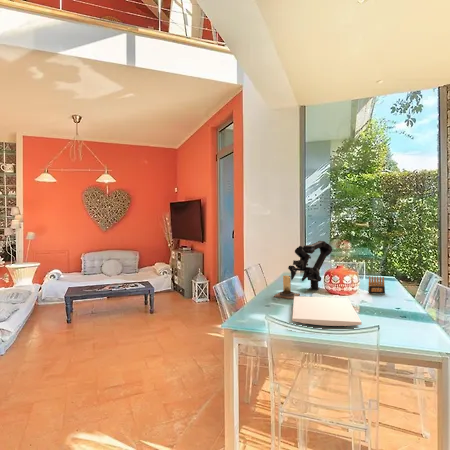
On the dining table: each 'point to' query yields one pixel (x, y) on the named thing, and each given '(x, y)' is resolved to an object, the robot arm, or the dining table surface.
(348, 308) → the board
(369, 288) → the ammunition clip
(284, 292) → the brass roller
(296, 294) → the collar plate
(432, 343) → the dining table surface
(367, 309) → the dining table surface
